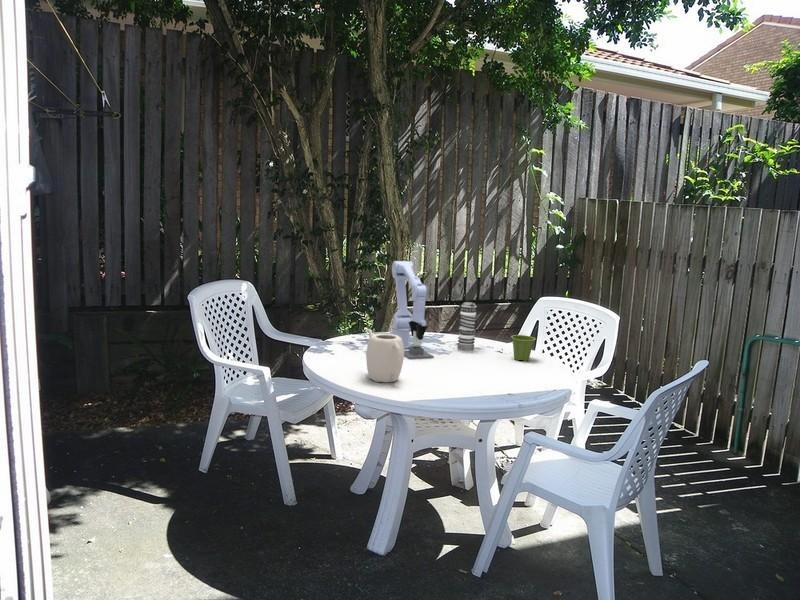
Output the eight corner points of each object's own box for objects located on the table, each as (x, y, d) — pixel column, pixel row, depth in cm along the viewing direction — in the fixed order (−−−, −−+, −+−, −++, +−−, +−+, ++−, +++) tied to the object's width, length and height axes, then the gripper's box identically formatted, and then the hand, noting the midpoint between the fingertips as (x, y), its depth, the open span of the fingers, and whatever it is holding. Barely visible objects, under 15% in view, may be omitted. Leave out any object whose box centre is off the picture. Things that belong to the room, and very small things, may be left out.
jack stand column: (412, 345, 343) (413, 330, 342) (418, 345, 344) (419, 330, 343) (415, 346, 340) (415, 332, 339) (420, 346, 341) (421, 331, 340)
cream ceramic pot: (381, 369, 313) (383, 328, 310) (414, 385, 291) (417, 340, 288) (350, 372, 304) (352, 330, 301) (382, 389, 282) (385, 343, 279)
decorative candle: (453, 349, 361) (456, 301, 357) (469, 348, 365) (472, 301, 361) (461, 353, 353) (465, 304, 349) (477, 352, 356) (481, 304, 352)
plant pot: (507, 360, 343) (509, 338, 341) (511, 355, 354) (513, 333, 352) (531, 363, 339) (533, 341, 337) (535, 358, 350) (537, 336, 348)
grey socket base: (398, 352, 346) (399, 343, 346) (422, 351, 351) (423, 343, 351) (408, 359, 335) (409, 349, 334) (433, 358, 339) (434, 348, 339)
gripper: (405, 307, 345) (403, 334, 347) (417, 313, 331) (415, 341, 333) (418, 307, 347) (417, 334, 349) (430, 312, 334) (429, 340, 336)
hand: (417, 337), depth 342 cm, fingers open, 7 cm apart
